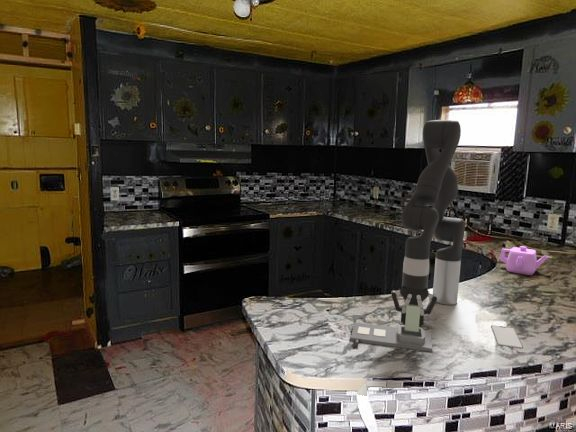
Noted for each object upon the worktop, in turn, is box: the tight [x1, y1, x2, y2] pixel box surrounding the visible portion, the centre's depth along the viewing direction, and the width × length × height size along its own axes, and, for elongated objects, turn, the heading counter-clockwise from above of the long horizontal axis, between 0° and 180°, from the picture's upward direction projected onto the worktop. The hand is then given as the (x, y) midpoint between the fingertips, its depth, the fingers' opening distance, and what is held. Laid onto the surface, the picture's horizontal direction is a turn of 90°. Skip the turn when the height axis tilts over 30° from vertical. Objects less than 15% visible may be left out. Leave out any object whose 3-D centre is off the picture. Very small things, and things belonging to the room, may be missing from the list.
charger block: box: [404, 304, 420, 332], centre depth 130 cm, size 4×4×8 cm
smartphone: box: [490, 325, 524, 349], centre depth 135 cm, size 7×1×15 cm
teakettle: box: [499, 245, 549, 276], centre depth 210 cm, size 17×17×12 cm
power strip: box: [350, 322, 433, 353], centre depth 130 cm, size 16×24×3 cm, turn 76°
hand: (411, 324), depth 130 cm, fingers closed on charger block, 4 cm apart
